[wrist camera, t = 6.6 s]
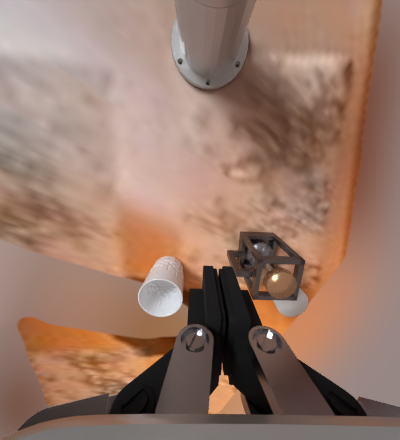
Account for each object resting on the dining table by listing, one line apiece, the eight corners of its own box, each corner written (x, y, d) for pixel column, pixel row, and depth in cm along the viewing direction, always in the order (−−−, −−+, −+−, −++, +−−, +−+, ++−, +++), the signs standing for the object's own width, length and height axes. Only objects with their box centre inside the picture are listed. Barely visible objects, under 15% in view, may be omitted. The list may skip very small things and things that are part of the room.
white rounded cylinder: (265, 268, 43) (279, 290, 36) (291, 268, 44) (311, 290, 36) (261, 290, 45) (275, 316, 37) (286, 291, 45) (305, 317, 38)
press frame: (226, 231, 41) (238, 258, 29) (273, 232, 41) (305, 260, 29) (223, 261, 43) (234, 299, 31) (268, 262, 43) (296, 300, 31)
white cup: (193, 267, 43) (191, 296, 33) (171, 290, 45) (164, 324, 35) (165, 246, 42) (155, 270, 32) (144, 271, 43) (129, 301, 34)
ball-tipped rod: (248, 241, 38) (267, 270, 28) (273, 242, 38) (302, 271, 28) (245, 264, 40) (262, 300, 29) (270, 265, 40) (296, 301, 29)
